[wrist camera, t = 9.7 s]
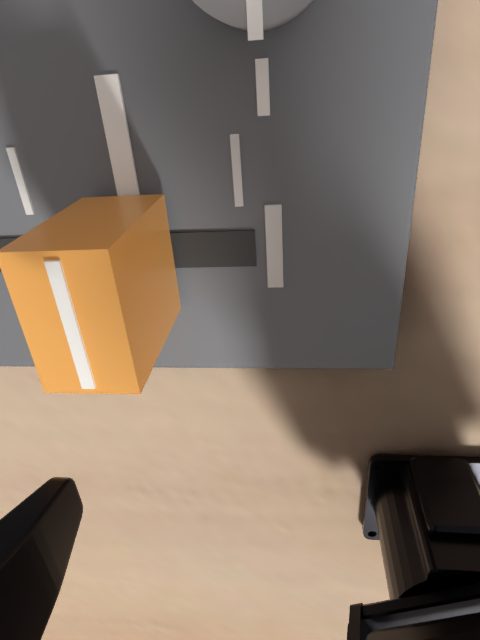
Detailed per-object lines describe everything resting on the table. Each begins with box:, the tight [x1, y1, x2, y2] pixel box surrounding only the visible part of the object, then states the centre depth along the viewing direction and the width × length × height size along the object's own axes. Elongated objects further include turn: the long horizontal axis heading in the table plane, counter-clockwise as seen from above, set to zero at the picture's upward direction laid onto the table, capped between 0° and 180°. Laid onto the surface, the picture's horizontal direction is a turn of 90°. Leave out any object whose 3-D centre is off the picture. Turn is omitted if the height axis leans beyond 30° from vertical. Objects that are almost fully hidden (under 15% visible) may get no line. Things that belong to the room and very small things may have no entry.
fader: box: [0, 194, 181, 394], centre depth 15 cm, size 4×3×6 cm, turn 4°
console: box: [0, 0, 438, 369], centre depth 16 cm, size 18×26×4 cm
